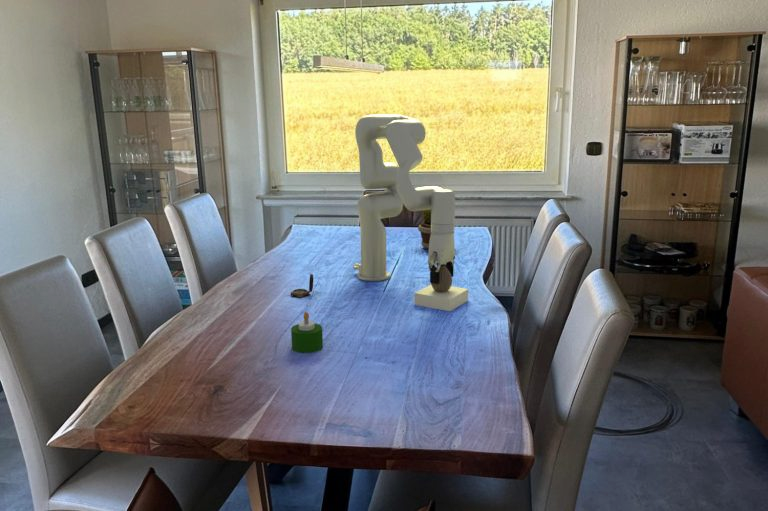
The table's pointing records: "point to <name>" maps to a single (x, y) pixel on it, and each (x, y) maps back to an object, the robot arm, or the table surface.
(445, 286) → the vase
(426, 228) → the flowerpot
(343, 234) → the table surface
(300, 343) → the candle
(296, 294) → the compass
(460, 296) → the plinth
